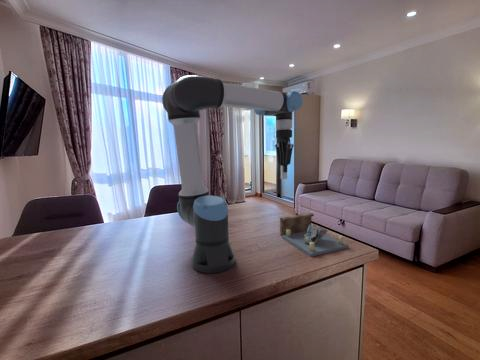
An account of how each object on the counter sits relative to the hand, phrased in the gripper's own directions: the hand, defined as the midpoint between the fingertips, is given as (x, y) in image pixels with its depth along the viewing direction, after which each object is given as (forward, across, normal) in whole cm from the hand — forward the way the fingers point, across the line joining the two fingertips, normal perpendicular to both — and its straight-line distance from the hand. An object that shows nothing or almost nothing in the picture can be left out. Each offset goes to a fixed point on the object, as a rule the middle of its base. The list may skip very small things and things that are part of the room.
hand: (283, 178), depth 121 cm
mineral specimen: (+23, -24, -1) cm, 33 cm away
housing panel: (+24, -10, -1) cm, 26 cm away
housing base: (+24, -22, -1) cm, 33 cm away
